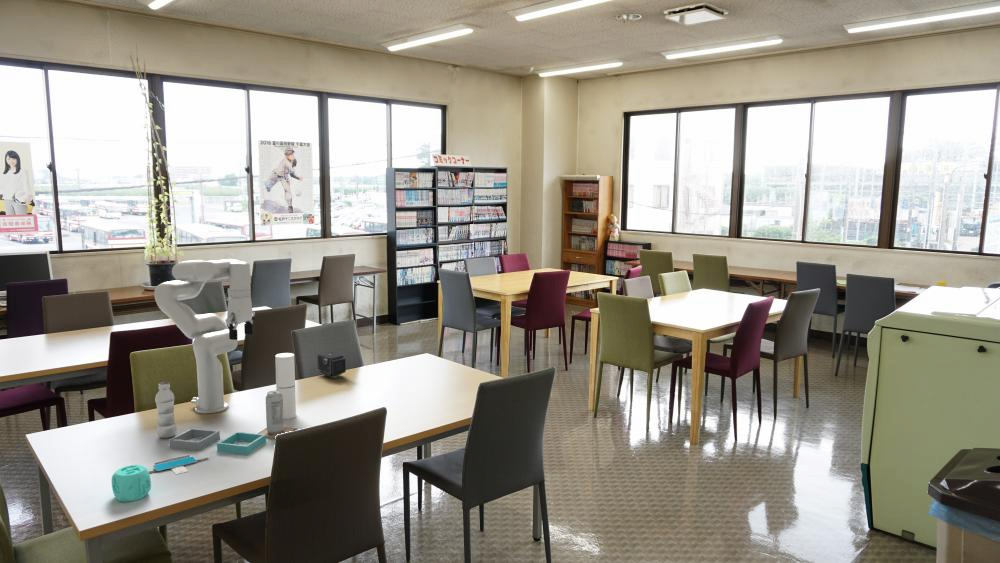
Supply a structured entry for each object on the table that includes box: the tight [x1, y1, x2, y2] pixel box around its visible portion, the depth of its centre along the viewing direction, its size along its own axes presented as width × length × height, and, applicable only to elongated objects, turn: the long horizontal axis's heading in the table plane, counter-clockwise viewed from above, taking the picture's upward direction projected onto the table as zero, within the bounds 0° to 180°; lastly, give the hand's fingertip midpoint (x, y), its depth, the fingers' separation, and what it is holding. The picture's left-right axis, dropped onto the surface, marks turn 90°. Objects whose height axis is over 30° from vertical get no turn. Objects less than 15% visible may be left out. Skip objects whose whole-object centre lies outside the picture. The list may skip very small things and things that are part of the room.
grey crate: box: [168, 427, 221, 452], centre depth 236 cm, size 12×12×3 cm
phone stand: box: [148, 454, 208, 475], centre depth 216 cm, size 20×12×2 cm, turn 131°
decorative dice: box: [111, 464, 152, 503], centre depth 195 cm, size 8×8×8 cm
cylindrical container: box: [274, 352, 297, 420], centre depth 264 cm, size 7×7×25 cm
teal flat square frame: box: [216, 431, 267, 456], centre depth 233 cm, size 12×12×3 cm
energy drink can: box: [265, 390, 285, 434], centre depth 246 cm, size 6×6×15 cm
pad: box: [256, 426, 298, 440], centre depth 247 cm, size 11×11×1 cm
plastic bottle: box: [154, 381, 177, 439], centre depth 241 cm, size 6×7×20 cm
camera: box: [317, 351, 347, 379], centre depth 322 cm, size 11×11×15 cm
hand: (241, 336), depth 259 cm, fingers open, 9 cm apart
